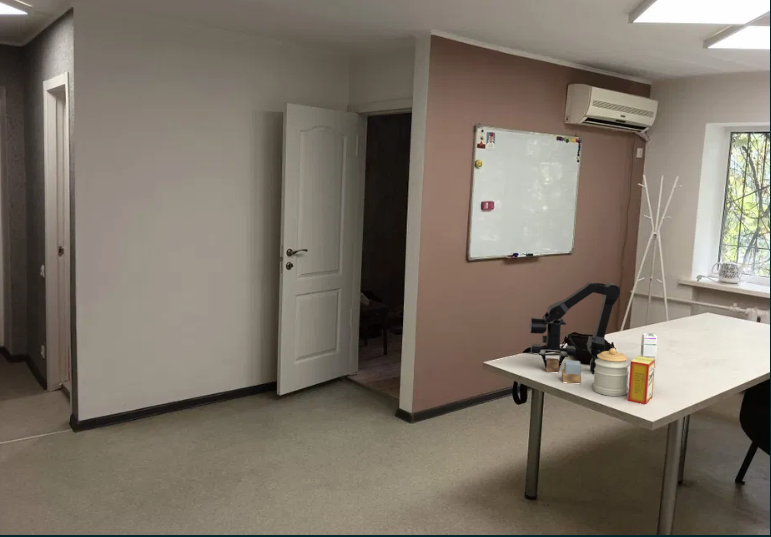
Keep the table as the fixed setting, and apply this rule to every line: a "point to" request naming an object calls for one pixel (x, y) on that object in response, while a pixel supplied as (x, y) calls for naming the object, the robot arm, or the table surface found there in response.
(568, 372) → the grey block
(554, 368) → the walnut cube
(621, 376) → the jar
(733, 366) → the table surface
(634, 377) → the baking soda box
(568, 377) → the oak block
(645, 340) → the syrup box
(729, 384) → the table surface
